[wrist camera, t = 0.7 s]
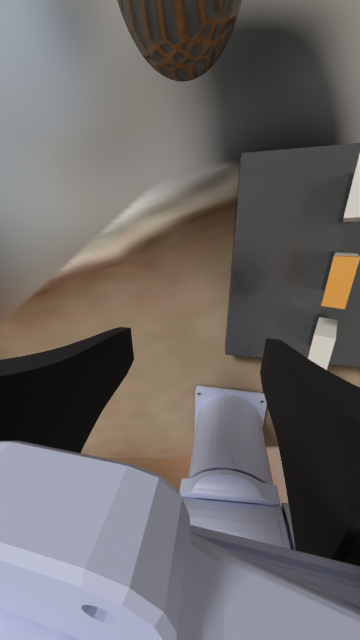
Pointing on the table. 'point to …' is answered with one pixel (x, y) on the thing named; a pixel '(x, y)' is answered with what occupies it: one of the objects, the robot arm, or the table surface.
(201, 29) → the vase
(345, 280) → the orange-white breaker switch
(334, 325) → the small grey block
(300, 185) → the panel
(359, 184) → the white block
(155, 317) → the table surface
